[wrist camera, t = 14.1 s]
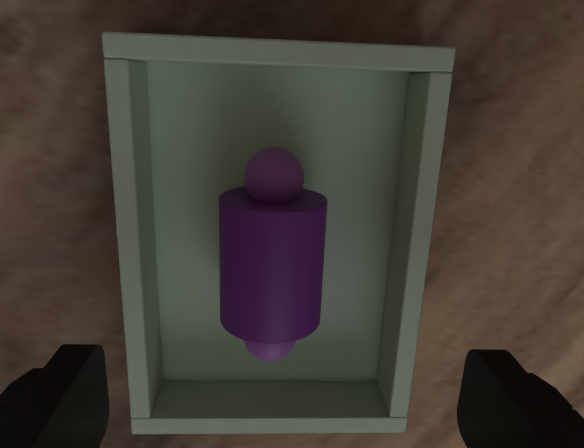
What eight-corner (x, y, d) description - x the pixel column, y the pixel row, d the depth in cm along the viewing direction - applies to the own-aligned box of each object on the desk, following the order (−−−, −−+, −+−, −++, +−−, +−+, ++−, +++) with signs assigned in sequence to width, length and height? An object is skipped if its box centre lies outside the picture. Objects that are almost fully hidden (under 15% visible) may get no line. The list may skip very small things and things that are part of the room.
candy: (227, 138, 19) (208, 153, 15) (327, 142, 19) (334, 158, 15) (228, 330, 21) (212, 385, 17) (316, 333, 21) (319, 389, 17)
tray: (128, 39, 18) (100, 31, 15) (426, 52, 18) (456, 47, 15) (149, 387, 22) (131, 434, 19) (387, 387, 23) (405, 433, 20)
